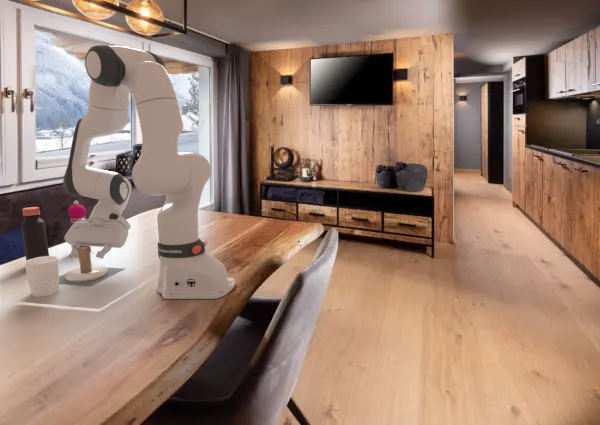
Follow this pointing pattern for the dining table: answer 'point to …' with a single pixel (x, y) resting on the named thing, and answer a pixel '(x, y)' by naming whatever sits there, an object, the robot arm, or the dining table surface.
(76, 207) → the pepper mill
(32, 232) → the bottle
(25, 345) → the dining table surface
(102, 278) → the slate mat
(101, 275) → the lid
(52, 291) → the white cup
